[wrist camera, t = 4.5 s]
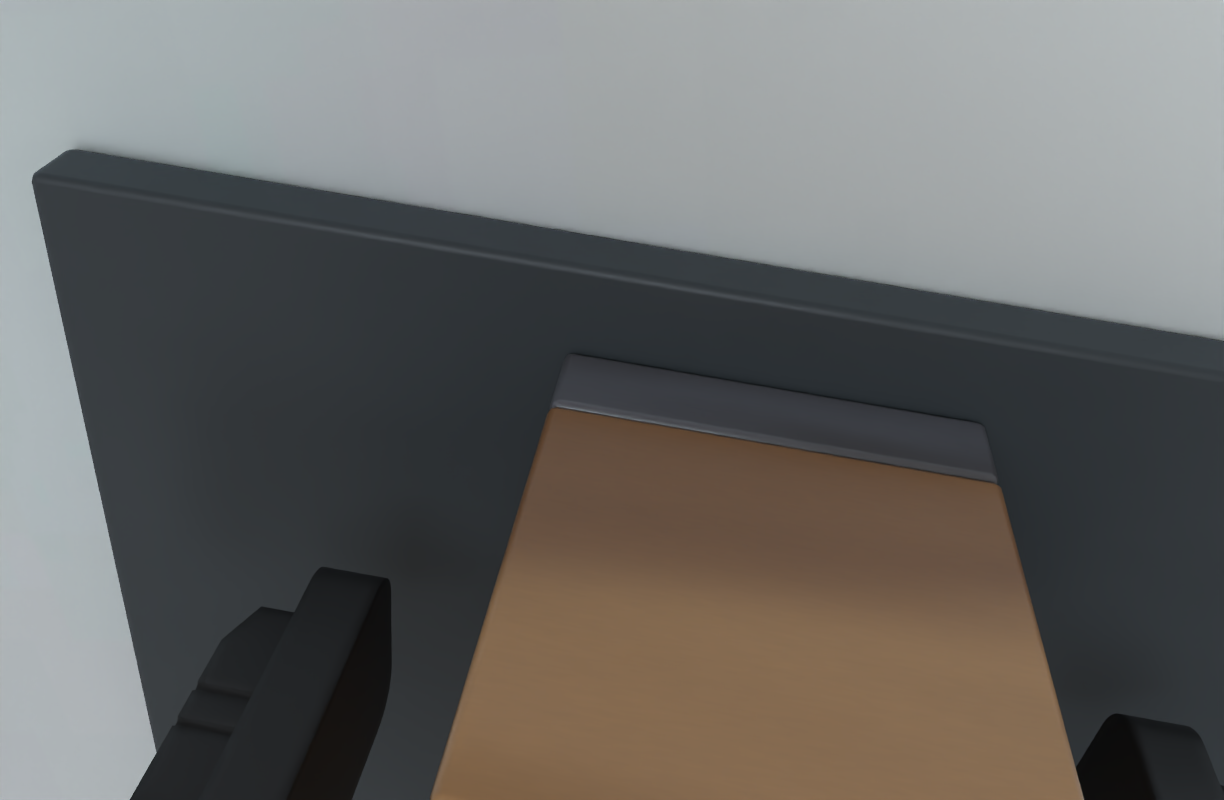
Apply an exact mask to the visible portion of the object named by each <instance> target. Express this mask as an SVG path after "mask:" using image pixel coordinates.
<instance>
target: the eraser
mask: <svg viewBox="0 0 1224 800" xmlns="http://www.w3.org/2000/svg"><path fill="white" fill-rule="evenodd" d="M997 484H998V475H997V471H996V468H995V464H994V460H993V456H992V453H991V449H990V445H989V441H988V437H987V434H986V430H985V427H984V426H983V425H981V424H979V423H977V422H971V421H965V420H959V419H953V418H947V417H942V416H936V415H930V414H924V413H918V412H912V411H907V410H901V409H895V408H889V407H883V406H877V405H871V404H866V403H860V402H854V401H848V400H842V399H836V398H831V397H825V396H819V395H813V394H807V393H801V392H796V391H790V390H784V389H778V388H772V387H766V386H760V385H755V384H749V383H743V382H737V381H731V380H725V379H720V378H714V377H708V376H702V375H696V374H690V373H685V372H679V371H673V370H667V369H661V368H655V367H649V366H644V365H638V364H632V363H626V362H620V361H614V360H609V359H603V358H597V357H591V356H585V355H579V354H568V355H567V356H566V358H565V359H564V361H563V364H562V367H561V371H560V374H559V377H558V380H557V384H556V387H555V390H554V394H553V397H552V400H551V403H550V411H549V412H548V414H547V416H546V419H545V423H544V426H543V429H542V432H541V436H540V439H539V442H538V445H537V449H536V452H535V455H534V459H533V462H532V465H531V468H530V472H529V475H528V478H527V481H526V485H525V488H524V491H523V495H522V498H521V501H520V504H519V508H518V511H517V514H516V517H515V521H514V524H513V527H512V530H511V534H510V537H509V540H508V544H507V547H506V550H505V553H504V557H503V560H502V563H501V566H500V570H499V573H498V576H497V580H496V583H495V586H494V589H493V593H492V596H491V599H490V602H489V606H488V609H487V612H486V616H485V619H484V622H483V625H482V629H481V632H480V635H479V638H478V642H477V645H476V648H475V651H474V655H473V658H472V661H471V665H470V668H469V671H468V674H467V678H466V681H465V684H464V687H463V691H462V694H461V697H460V701H459V704H458V707H457V710H456V714H455V717H454V720H453V723H452V727H451V730H450V733H449V737H448V740H447V743H446V746H445V750H444V753H443V756H442V759H441V763H440V766H439V769H438V772H437V776H436V779H435V782H434V786H433V789H432V792H431V795H430V800H1084V798H1083V794H1082V790H1081V786H1080V783H1079V779H1078V775H1077V771H1076V768H1075V764H1074V760H1073V756H1072V752H1071V749H1070V745H1069V741H1068V737H1067V734H1066V730H1065V726H1064V722H1063V719H1062V715H1061V711H1060V707H1059V704H1058V700H1057V696H1056V692H1055V688H1054V685H1053V681H1052V677H1051V673H1050V670H1049V666H1048V662H1047V658H1046V655H1045V651H1044V647H1043V643H1042V640H1041V636H1040V632H1039V628H1038V624H1037V621H1036V617H1035V613H1034V609H1033V606H1032V602H1031V598H1030V594H1029V591H1028V587H1027V583H1026V579H1025V576H1024V572H1023V568H1022V564H1021V560H1020V557H1019V553H1018V549H1017V545H1016V542H1015V538H1014V534H1013V530H1012V527H1011V523H1010V519H1009V515H1008V512H1007V508H1006V504H1005V500H1004V496H1003V493H1002V489H1001V487H1000V486H999V485H997Z"/></svg>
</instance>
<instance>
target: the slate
mask: <svg viewBox="0 0 1224 800" xmlns="http://www.w3.org/2000/svg"><path fill="white" fill-rule="evenodd" d="M32 184H33V189H34V194H35V198H36V203H37V207H38V212H39V216H40V221H41V226H42V230H43V235H44V239H45V244H46V248H47V253H48V258H49V262H50V267H51V271H52V276H53V280H54V285H55V290H56V294H57V299H58V303H59V308H60V312H61V317H62V322H63V326H64V331H65V335H66V340H67V345H68V349H69V354H70V358H71V363H72V367H73V372H74V377H75V381H76V386H77V390H78V395H79V399H80V404H81V409H82V413H83V418H84V422H85V427H86V431H87V436H88V441H89V445H90V450H91V454H92V459H93V463H94V468H95V473H96V477H97V482H98V486H99V491H100V495H101V500H102V505H103V509H104V514H105V518H106V523H107V527H108V532H109V537H110V541H111V546H112V550H113V555H114V559H115V564H116V569H117V573H118V578H119V582H120V587H121V592H122V596H123V601H124V605H125V610H126V614H127V619H128V624H129V628H130V633H131V637H132V642H133V646H134V651H135V656H136V660H137V665H138V669H139V674H140V678H141V683H142V688H143V692H144V697H145V701H146V706H147V710H148V715H149V720H150V724H151V729H152V733H153V738H154V742H155V747H156V752H157V751H158V750H159V748H160V746H161V744H162V743H163V741H164V739H165V737H166V736H167V734H168V732H169V730H170V729H171V727H172V725H173V726H175V725H176V723H177V719H178V715H179V713H180V711H181V709H182V708H183V706H184V704H185V702H186V701H187V699H188V697H189V695H190V694H191V692H192V690H195V689H196V687H197V682H198V680H199V678H200V676H201V675H202V673H203V671H204V669H205V668H206V666H207V664H208V662H209V661H210V659H211V657H212V655H213V654H214V652H215V650H216V648H217V647H218V645H219V643H220V641H221V640H222V639H223V638H224V637H225V636H226V635H227V634H229V633H230V632H231V631H232V630H234V629H235V628H236V627H237V626H238V625H240V624H241V623H242V622H243V621H244V620H246V619H247V618H248V617H249V616H250V615H252V614H253V613H254V612H255V611H256V610H258V609H259V608H260V607H261V606H262V607H268V608H273V609H279V610H284V611H290V612H295V610H296V608H297V606H298V604H299V602H300V600H301V598H302V596H303V594H304V592H305V590H306V588H307V586H308V584H309V582H310V580H311V579H312V577H313V575H314V574H315V572H316V571H317V570H318V569H319V568H320V567H328V568H334V569H339V570H345V571H350V572H356V573H361V574H367V575H373V576H378V577H384V578H388V579H389V581H390V584H391V632H392V672H391V681H390V688H389V693H388V698H387V703H386V707H385V710H384V714H383V717H382V721H381V724H380V726H379V729H378V732H377V735H376V737H375V740H374V743H373V745H372V748H371V750H370V753H369V756H368V758H367V761H366V764H365V766H364V769H363V772H362V774H361V777H360V780H359V782H358V785H357V788H356V790H355V793H354V795H353V798H352V800H430V795H431V792H432V789H433V786H434V782H435V779H436V776H437V772H438V769H439V766H440V763H441V759H442V756H443V753H444V750H445V746H446V743H447V740H448V737H449V733H450V730H451V727H452V723H453V720H454V717H455V714H456V710H457V707H458V704H459V701H460V697H461V694H462V691H463V687H464V684H465V681H466V678H467V674H468V671H469V668H470V665H471V661H472V658H473V655H474V651H475V648H476V645H477V642H478V638H479V635H480V632H481V629H482V625H483V622H484V619H485V616H486V612H487V609H488V606H489V602H490V599H491V596H492V593H493V589H494V586H495V583H496V580H497V576H498V573H499V570H500V566H501V563H502V560H503V557H504V553H505V550H506V547H507V544H508V540H509V537H510V534H511V530H512V527H513V524H514V521H515V517H516V514H517V511H518V508H519V504H520V501H521V498H522V495H523V491H524V488H525V485H526V481H527V478H528V475H529V472H530V468H531V465H532V462H533V459H534V455H535V452H536V449H537V445H538V442H539V439H540V436H541V432H542V429H543V426H544V423H545V419H546V416H547V414H548V412H549V411H550V403H551V400H552V397H553V394H554V390H555V387H556V384H557V380H558V377H559V374H560V371H561V367H562V364H563V361H564V359H565V358H566V356H567V355H568V354H579V355H585V356H591V357H597V358H603V359H609V360H614V361H620V362H626V363H632V364H638V365H644V366H649V367H655V368H661V369H667V370H673V371H679V372H685V373H690V374H696V375H702V376H708V377H714V378H720V379H725V380H731V381H737V382H743V383H749V384H755V385H760V386H766V387H772V388H778V389H784V390H790V391H796V392H801V393H807V394H813V395H819V396H825V397H831V398H836V399H842V400H848V401H854V402H860V403H866V404H871V405H877V406H883V407H889V408H895V409H901V410H907V411H912V412H918V413H924V414H930V415H936V416H942V417H947V418H953V419H959V420H965V421H971V422H977V423H979V424H981V425H983V426H984V427H985V430H986V434H987V437H988V441H989V445H990V449H991V453H992V456H993V460H994V464H995V468H996V471H997V475H998V484H997V485H999V486H1000V487H1001V489H1002V493H1003V496H1004V500H1005V504H1006V508H1007V512H1008V515H1009V519H1010V523H1011V527H1012V530H1013V534H1014V538H1015V542H1016V545H1017V549H1018V553H1019V557H1020V560H1021V564H1022V568H1023V572H1024V576H1025V579H1026V583H1027V587H1028V591H1029V594H1030V598H1031V602H1032V606H1033V609H1034V613H1035V617H1036V621H1037V624H1038V628H1039V632H1040V636H1041V640H1042V643H1043V647H1044V651H1045V655H1046V658H1047V662H1048V666H1049V670H1050V673H1051V677H1052V681H1053V685H1054V688H1055V692H1056V696H1057V700H1058V704H1059V707H1060V711H1061V715H1062V719H1063V722H1064V726H1065V730H1066V734H1067V737H1068V741H1069V745H1070V749H1071V752H1072V756H1073V760H1074V764H1075V768H1076V766H1077V765H1078V763H1079V762H1080V760H1081V758H1082V757H1083V755H1084V753H1085V752H1086V750H1087V748H1088V747H1089V745H1090V744H1091V742H1092V740H1093V739H1094V737H1095V735H1096V734H1097V732H1098V731H1099V729H1100V727H1101V726H1102V724H1103V723H1104V721H1105V720H1106V719H1107V718H1108V717H1109V716H1110V715H1112V714H1116V713H1119V714H1124V715H1130V716H1135V717H1141V718H1146V719H1152V720H1157V721H1163V722H1168V723H1174V724H1179V725H1185V726H1189V727H1191V728H1192V729H1194V730H1195V731H1196V732H1197V733H1198V734H1199V736H1200V737H1201V739H1202V741H1203V743H1204V745H1205V747H1206V750H1207V753H1208V755H1209V758H1210V760H1211V763H1212V766H1213V768H1214V771H1215V773H1216V776H1217V779H1218V781H1219V784H1220V785H1223V786H1224V341H1219V340H1213V339H1207V338H1201V337H1195V336H1189V335H1183V334H1177V333H1171V332H1165V331H1159V330H1153V329H1147V328H1141V327H1135V326H1129V325H1123V324H1117V323H1111V322H1105V321H1099V320H1093V319H1087V318H1081V317H1075V316H1069V315H1063V314H1057V313H1051V312H1045V311H1039V310H1033V309H1027V308H1021V307H1015V306H1009V305H1003V304H997V303H991V302H985V301H979V300H973V299H967V298H961V297H955V296H949V295H943V294H938V293H932V292H926V291H920V290H914V289H908V288H902V287H896V286H890V285H884V284H878V283H872V282H866V281H860V280H854V279H848V278H842V277H836V276H830V275H824V274H818V273H812V272H806V271H800V270H794V269H788V268H782V267H776V266H770V265H764V264H758V263H752V262H746V261H740V260H734V259H728V258H722V257H716V256H710V255H704V254H698V253H692V252H686V251H680V250H674V249H668V248H662V247H656V246H650V245H644V244H638V243H632V242H626V241H620V240H614V239H608V238H602V237H596V236H590V235H584V234H578V233H572V232H566V231H560V230H554V229H548V228H542V227H536V226H530V225H524V224H518V223H512V222H506V221H500V220H494V219H488V218H482V217H476V216H470V215H465V214H459V213H453V212H447V211H441V210H435V209H429V208H423V207H417V206H411V205H405V204H399V203H393V202H387V201H381V200H375V199H369V198H363V197H357V196H351V195H345V194H339V193H333V192H327V191H321V190H315V189H309V188H303V187H297V186H291V185H285V184H279V183H273V182H267V181H261V180H255V179H249V178H243V177H237V176H231V175H225V174H219V173H213V172H207V171H201V170H195V169H189V168H183V167H177V166H171V165H165V164H159V163H153V162H147V161H141V160H135V159H129V158H123V157H117V156H111V155H105V154H99V153H93V152H87V151H81V150H68V151H65V152H64V153H62V154H61V155H60V156H58V157H57V158H55V159H54V160H52V161H51V162H50V163H48V164H47V165H45V166H44V167H42V168H41V169H39V170H38V171H37V172H35V173H34V175H33V178H32Z"/></svg>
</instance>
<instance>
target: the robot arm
mask: <svg viewBox="0 0 1224 800" xmlns="http://www.w3.org/2000/svg"><path fill="white" fill-rule="evenodd" d="M391 672H392V632H391V584H390V581H389V579H388V578H384V577H378V576H373V575H367V574H361V573H356V572H350V571H345V570H339V569H334V568H328V567H320V568H319V569H318V570H317V571H316V572H315V574H314V575H313V577H312V579H311V580H310V582H309V584H308V586H307V588H306V590H305V592H304V594H303V596H302V598H301V600H300V602H299V604H298V606H297V608H296V610H295V612H290V611H284V610H279V609H273V608H268V607H262V606H261V607H260V608H259V609H258V610H256V611H255V612H254V613H253V614H252V615H250V616H249V617H248V618H247V619H246V620H244V621H243V622H242V623H241V624H240V625H238V626H237V627H236V628H235V629H234V630H232V631H231V632H230V633H229V634H227V635H226V636H225V637H224V638H223V639H222V640H221V641H220V643H219V645H218V647H217V648H216V650H215V652H214V654H213V655H212V657H211V659H210V661H209V662H208V664H207V666H206V668H205V669H204V671H203V673H202V675H201V676H200V678H199V680H198V682H197V687H196V689H195V690H192V692H191V694H190V695H189V697H188V699H187V701H186V702H185V704H184V706H183V708H182V709H181V711H180V713H179V715H178V719H177V723H176V725H175V726H173V725H172V727H171V729H170V730H169V732H168V734H167V736H166V737H165V739H164V741H163V743H162V744H161V746H160V748H159V750H158V751H157V753H156V755H155V757H154V758H153V760H152V762H151V764H150V765H149V767H148V769H147V771H146V772H145V774H144V776H143V778H142V779H141V781H140V783H139V785H138V786H137V788H136V790H135V792H134V793H133V795H132V797H131V799H130V800H352V798H353V795H354V793H355V790H356V788H357V785H358V782H359V780H360V777H361V774H362V772H363V769H364V766H365V764H366V761H367V758H368V756H369V753H370V750H371V748H372V745H373V743H374V740H375V737H376V735H377V732H378V729H379V726H380V724H381V721H382V717H383V714H384V710H385V707H386V703H387V698H388V693H389V688H390V681H391ZM1076 771H1077V775H1078V779H1079V783H1080V786H1081V790H1082V794H1083V798H1084V800H1224V786H1223V785H1220V784H1219V781H1218V779H1217V776H1216V773H1215V771H1214V768H1213V766H1212V763H1211V760H1210V758H1209V755H1208V753H1207V750H1206V747H1205V745H1204V743H1203V741H1202V739H1201V737H1200V736H1199V734H1198V733H1197V732H1196V731H1195V730H1194V729H1192V728H1191V727H1189V726H1185V725H1179V724H1174V723H1168V722H1163V721H1157V720H1152V719H1146V718H1141V717H1135V716H1130V715H1124V714H1119V713H1116V714H1112V715H1110V716H1109V717H1108V718H1107V719H1106V720H1105V721H1104V723H1103V724H1102V726H1101V727H1100V729H1099V731H1098V732H1097V734H1096V735H1095V737H1094V739H1093V740H1092V742H1091V744H1090V745H1089V747H1088V748H1087V750H1086V752H1085V753H1084V755H1083V757H1082V758H1081V760H1080V762H1079V763H1078V765H1077V766H1076Z"/></svg>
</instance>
